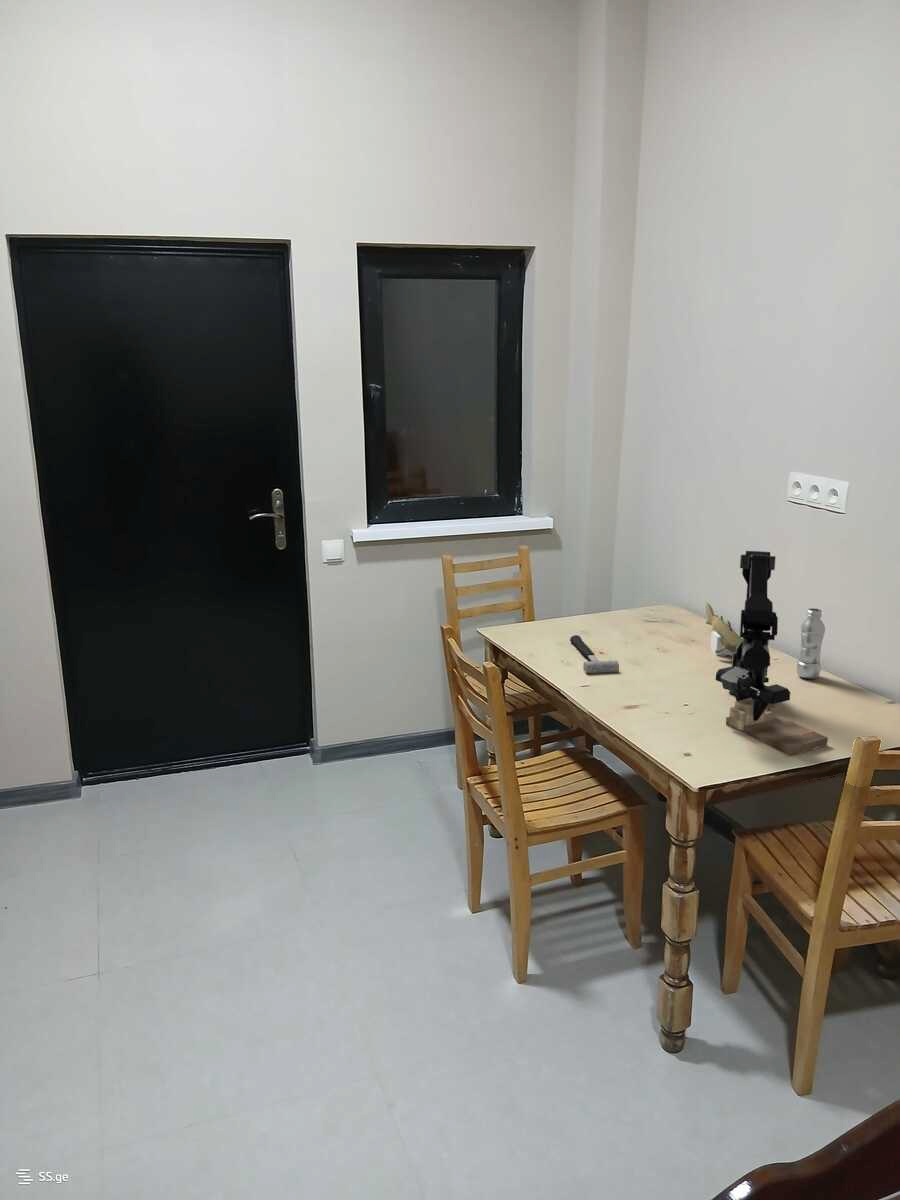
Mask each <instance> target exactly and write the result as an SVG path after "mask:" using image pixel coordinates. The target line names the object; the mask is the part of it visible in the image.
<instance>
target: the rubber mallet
mask: <svg viewBox="0 0 900 1200" xmlns="http://www.w3.org/2000/svg"><path fill="white" fill-rule="evenodd" d="M569 641H570V643H571V642H572V643H571V644H572V645H573V646H575V647H576V648H577V649H578V650H579V651H580V652H581V653H582V655H583V656H585V657H586V658H587V659H589V660H590V661H584V662H583V665H582V666H583V668H582V669H583V672H584V671H585V672H586V673H592V674H603V673H602V672H610V673H619V671H620V664H619V661H618V659H615V660H613V659H612V660H599V659H598V658H597V657H596V655H595V653H594V652H593V650H592V649H591V648H590V647H589V646H588V645H587V644H586V642H584V641H583V639H582V638H581V636H580V635H577V634H574V635H572V636H571V637H570V639H569ZM585 672H584V673H585ZM586 673H585V674H586Z"/></svg>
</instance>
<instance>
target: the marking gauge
mask: <svg viewBox="0 0 900 1200" xmlns="http://www.w3.org/2000/svg"><path fill="white" fill-rule="evenodd" d="M775 705H776V704H770V703H769V704H768V706H767V707H766V708H765V710H766V711H769V712H772V709H773V708H775ZM765 710H764V712H763V713H762V715H761V716H760V718H759V719H758V720H757V721H754V719H753V712H754V701H753V700H752V698H748V699H744V700H739V701H736V700H735V701H734V706H731V707H730V708H729V716H728V717H729V725H731V726H733V727H735V728H737V729H740V730H744V726H749V725H753V724H757V723H761V722H764V714H765Z"/></svg>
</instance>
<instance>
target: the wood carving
mask: <svg viewBox="0 0 900 1200" xmlns="http://www.w3.org/2000/svg"><path fill="white" fill-rule="evenodd" d="M705 609H706V620H705V624H706V625H710V626H712V627H711V628H712V631H711V634H710V635H711V636H710V637H711V638H710V650H711V652H712V653H713V654H714V655H715V656H717V657H718V656H721V657H722V656H727V655H729V656H733V653H736V646H737V645H738V643H739V642H740V641H741V639H742V638H740V634H738V633H737V632H736V631H735V630H734V629H733V628H732V625H731V624H732V623H731V622H730V621H729V620H727V622H725V621H724V619H723V615H720V616H719V614H715V612H714V609H713V607H712V605H711V604H710V603H709V602H708V601H706V602H705Z"/></svg>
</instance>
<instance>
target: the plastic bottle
mask: <svg viewBox="0 0 900 1200" xmlns="http://www.w3.org/2000/svg"><path fill="white" fill-rule="evenodd" d="M822 613H823V612H822V609H820V608H808V609H807V614H806V617H807V618H806V619H805V620H804V621H803V622H802V624H801V626H800V642H801V643H800V651H799V657H798V661H797V663H796V674H797V676H799V677H801V678H802V679H809V680H812V679H813V680H814V679H817V678H818V677H819V676H820V674H821V672H822V668H821V667H822V666H821V665H822V664H821V652H822V651H821V650H822V645H823V644H822V643H823V640H824V636H825V633H826V626H825V624H824V622H823V620H822V619H821V618H822V617H823V615H822Z"/></svg>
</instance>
